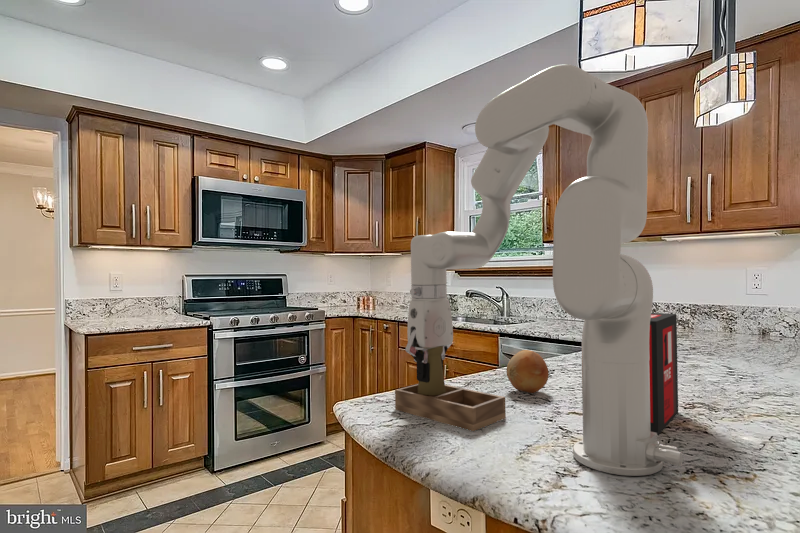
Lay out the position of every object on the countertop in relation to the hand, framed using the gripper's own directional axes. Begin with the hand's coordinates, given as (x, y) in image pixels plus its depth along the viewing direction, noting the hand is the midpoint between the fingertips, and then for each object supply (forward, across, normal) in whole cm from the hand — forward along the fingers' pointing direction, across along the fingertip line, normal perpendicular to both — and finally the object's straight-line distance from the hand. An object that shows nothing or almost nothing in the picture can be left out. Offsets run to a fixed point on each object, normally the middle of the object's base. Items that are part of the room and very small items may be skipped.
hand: (430, 378), depth 102 cm
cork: (+3, 0, 0) cm, 3 cm away
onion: (+7, +26, -8) cm, 28 cm away
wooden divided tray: (+6, 0, -5) cm, 8 cm away
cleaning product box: (+7, +23, -35) cm, 42 cm away
